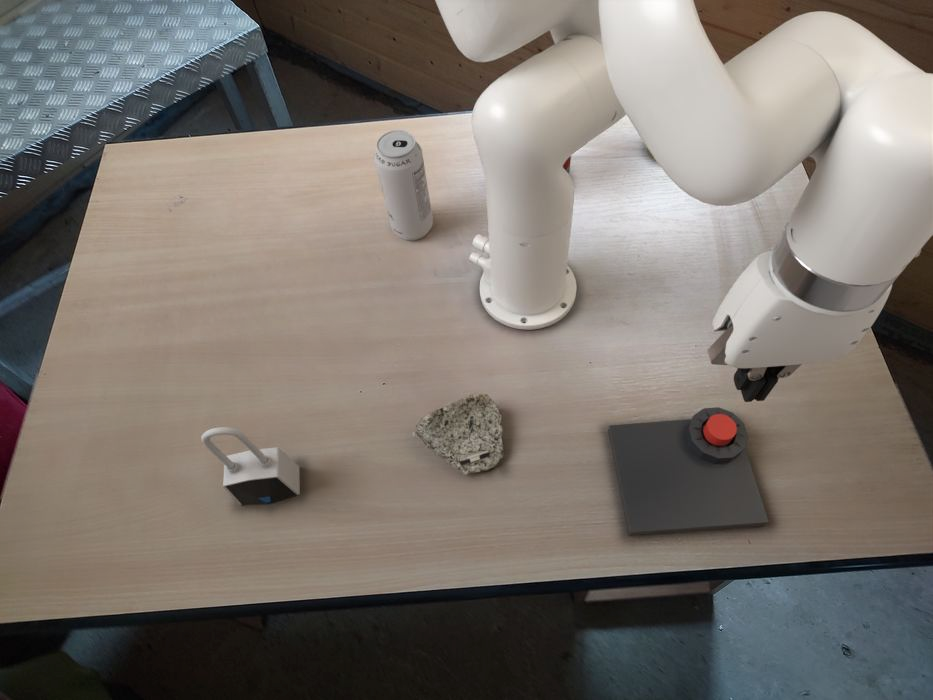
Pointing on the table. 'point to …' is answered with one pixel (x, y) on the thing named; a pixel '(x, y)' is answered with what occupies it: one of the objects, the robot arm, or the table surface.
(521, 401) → the table surface
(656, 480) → the grey flat block
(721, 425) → the tare button
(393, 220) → the energy drink can
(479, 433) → the rock sample
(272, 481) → the padlock
